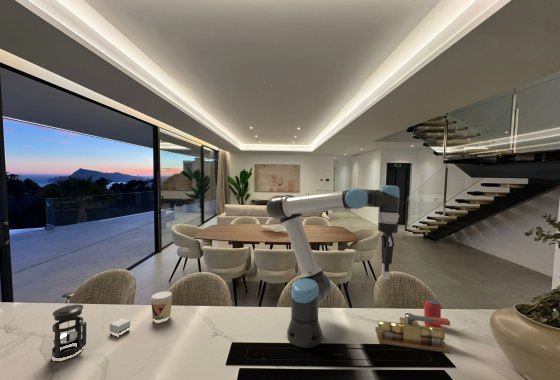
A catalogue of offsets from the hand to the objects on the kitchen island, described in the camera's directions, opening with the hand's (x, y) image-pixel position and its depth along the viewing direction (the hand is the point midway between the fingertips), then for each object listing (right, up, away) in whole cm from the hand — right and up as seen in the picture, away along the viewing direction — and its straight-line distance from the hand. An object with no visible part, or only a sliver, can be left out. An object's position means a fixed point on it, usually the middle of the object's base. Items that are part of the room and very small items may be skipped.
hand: (385, 278), depth 102 cm
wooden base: (+11, -27, +2) cm, 29 cm away
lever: (+17, -18, 0) cm, 25 cm away
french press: (-126, -26, -8) cm, 129 cm away
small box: (-115, -27, +6) cm, 118 cm away
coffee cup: (-102, -27, +17) cm, 107 cm away
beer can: (+28, -28, +13) cm, 41 cm away
